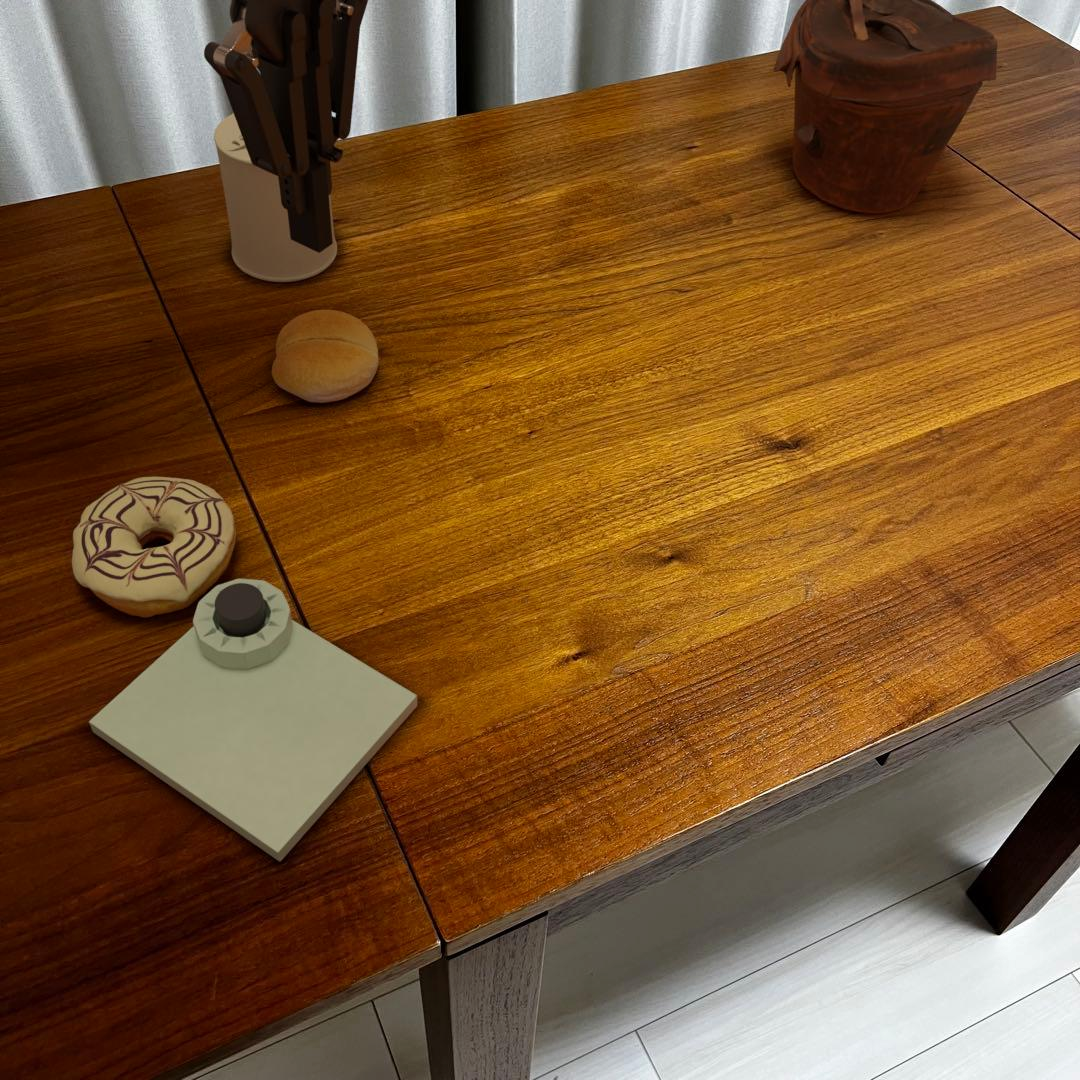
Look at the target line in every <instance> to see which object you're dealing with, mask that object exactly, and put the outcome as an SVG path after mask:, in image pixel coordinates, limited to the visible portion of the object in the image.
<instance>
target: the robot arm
mask: <svg viewBox="0 0 1080 1080" xmlns="http://www.w3.org/2000/svg"><path fill="white" fill-rule="evenodd" d="M368 3H369V0H231V1H230V4H229V19H230V22H231V24H232V25H231V27H230V29H229V30H228V32H227V34H226V35H225V37H224V39H223V40H222V41H221V43H218V42H215V41H210V42H208V43H207V44H206V45H205V47H204V50H203V57H204V59H205V61H206V62H207V63H208V64H209V66H210V67H211V68H212V69H213V70H214V71H215V72H216V73H217V75H218V76H219V77H220V80H221V83H222V85H223V88H224V91H225V94H226V96H227V99H228V102H229V104H230V107H231V110H232V112H233V113H234V116H235V118H236V121H237V124H238V126H239V129H240V132H241V135H242V137H243V140H244V143H245V146H246V148H247V151H248V154H249V157H250V159H251V162H252V164H253V165H255V166H257V167H259V168H261V169H263V170H265V171H267V172H270V173H272V174H274V175H276V176H278V179H279V187H280V195H281V204H282V205H283V207H284V208H285V209H287V212H288V220H289V229H290V238H291V240H293V241H295V242H297V243H299V244H301V245H303V246H306V247H308V248H310V249H312V250H314V251H316V252H318V253H320V252H322V251H323V250H324V249H326V248H327V247H329V246H330V245H331V244H333V241H332V229H331V217H330V205H329V195H330V194H331V195H332V189H333V181H332V180H333V179H332V178H333V177H332V167H331V162H332V163H334V164H337V163H339V162H340V161H341V159H342V157H343V155H344V150H343V149H341V148H338V147H336V146H335V144H336V143H337V142H338V140H339V139H340V140H342V141H343V140H346V139H347V138H348V137H349V136H350V134H351V129H352V117H353V110H354V109H353V107H354V98H355V86H356V85H355V84H356V77H357V76H356V75H357V65H358V56H359V55H358V54H359V45H360V44H359V43H360V33H361V27H362V26H361V25H362V22H363V19H364V17H365V12H366V9H367V7H368ZM233 113H232V114H233ZM333 113H334V114H335V116H334V115H333Z"/></svg>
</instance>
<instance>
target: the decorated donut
mask: <svg viewBox="0 0 1080 1080" xmlns="http://www.w3.org/2000/svg"><path fill="white" fill-rule="evenodd" d="M231 509H232V508H230V507H229V506H228V504H227V503H226V501H225V499H224V498H223V497H222V496H221V495H220V494H219V493H218V492H217V491H216V490H215V489H214V488H212V487H210V486H208V485H205V484H204V483H200V482H198V481H196V480H193V479H189V478H181V477H180V478H179V477H169V476H167V477H166V476H143V477H136V478H133V479H132V480H129V481H127V482H124V483H120V484H118V485H117V486H115V487H114V488H111V489H110V490H108V491H107V492H104V494H103V495H102V496H100V497H99V498H98V499H96V500H95V501H93V502H91V503H90V504H89V505H88V506H86V507H85V509H84V510H83V512H82V514H81V515H80V523H78V525H77V526H76V527H75V528H74V530H73V532H72V542H73V549H72V558H71V567H72V573H73V576H74V579H75V580H76V581H77V583H79V584H80V585H81V586H82V587H84V588H88V589H89V590H90V591H91V592H92V593H93V594H94V596H96V597H97V598H99V599H100V600H102V601H103V602H104V603H105V604H107V605H108V606H110V607H112V608H114V609H116V610H118V611H120V612H122V613H125V614H127V615H130V616H132V617H140V618H144V619H146V618H151V617H154V616H155V615H163V614H170V613H173V612H176V611H181V610H185V608H188V607H190V606H191V605H192V604H193V603H195V602H196V601H197V600H198V599H199V598H200V597H201V596H202V595H205V594H206V592H207V591H208V590H209V589H210V588H211V587H213V585H214V584H215V583H216V582H217V581H218V580H219V579H220V577H221V576H222V575H223V573H224V572H225V571H226V570H227V568H228V567H229V565H230V561H231V558H232V557H233V552H234V548H235V544H236V537H237V527H236V522H235V519H234V514H233V512H232V510H231ZM156 539H166V540H167V541H169V542H170V543H168V544H165V545H161V546H156V547H147V548H145V549H144V546H145V545H146V544H148V543H151V542H153V541H154V540H156Z"/></svg>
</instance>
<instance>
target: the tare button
mask: <svg viewBox="0 0 1080 1080" xmlns="http://www.w3.org/2000/svg"><path fill="white" fill-rule="evenodd" d="M215 610H216V614H217V618H218V623H219V626H220V627H221V629H222V630H223V631H224V632H226V633H227V634H229V635H232V636H237V637H242V636H248V635H251V634H253V633H255V632H257V631H258V630H259V629H260V628H261V627H262V626H263V625H264V623H265V620H266V610H265V604H264V599H263V595H262V593H261V591H260V590H259V589H258V588H256V587H255V586H253V585H250V584H246V583H237V584H233V585H230V586H228V587H226V588H224V589H223V590H222V591H221V592H220V593H219V594H218V595H217V597H216V599H215Z"/></svg>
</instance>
